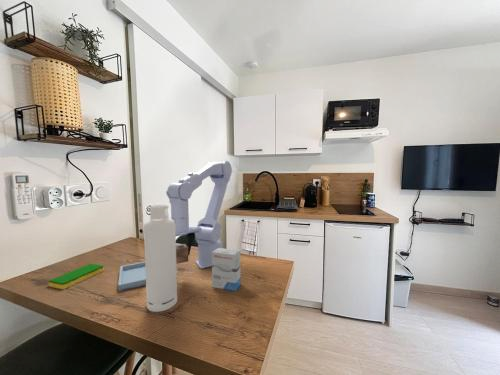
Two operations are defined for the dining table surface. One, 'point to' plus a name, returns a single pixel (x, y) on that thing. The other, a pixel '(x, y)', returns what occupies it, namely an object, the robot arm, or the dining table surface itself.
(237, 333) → the dining table surface
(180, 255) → the walnut block
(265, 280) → the dining table surface
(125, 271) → the tray
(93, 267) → the dish sponge
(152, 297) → the bottle
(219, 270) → the ink box
